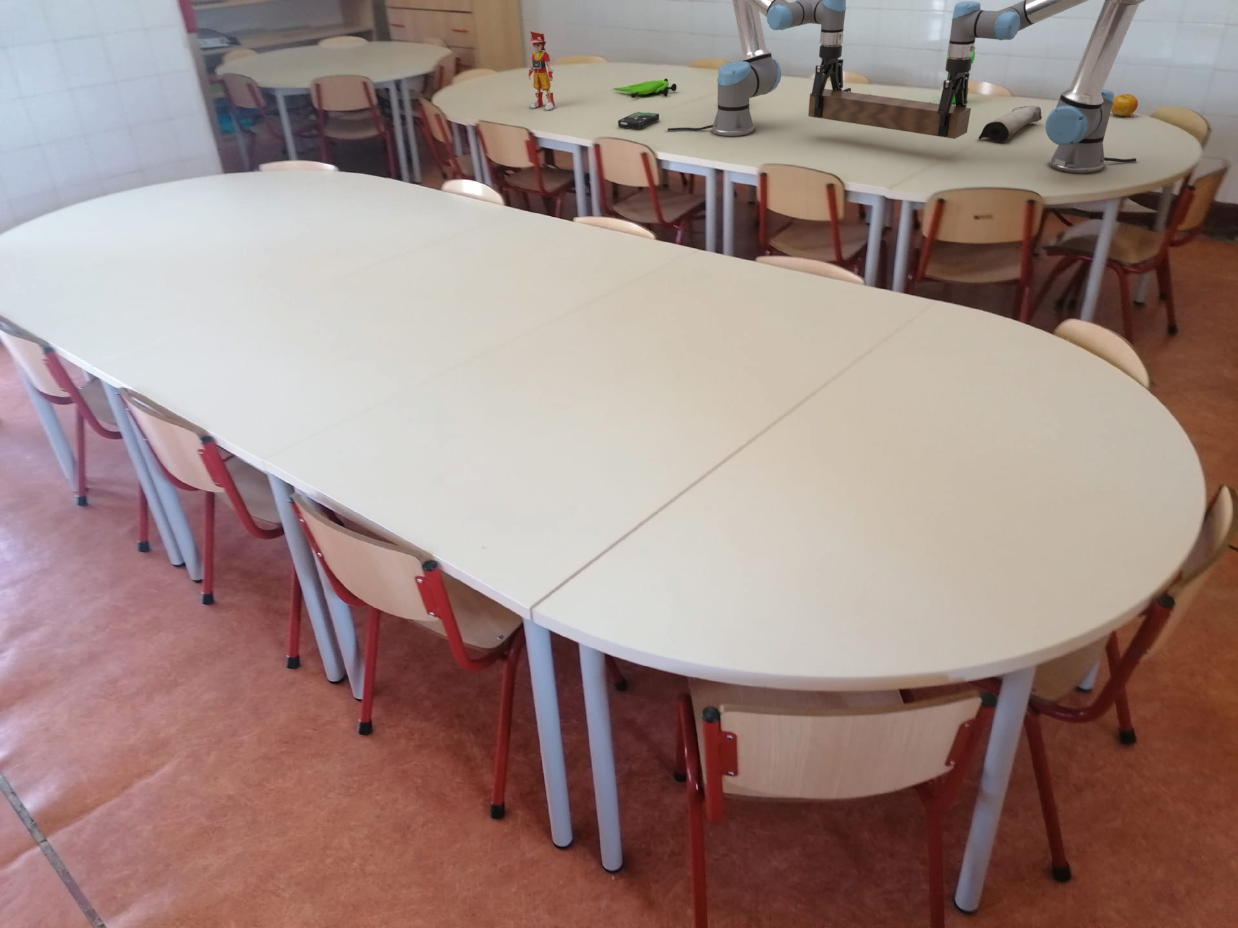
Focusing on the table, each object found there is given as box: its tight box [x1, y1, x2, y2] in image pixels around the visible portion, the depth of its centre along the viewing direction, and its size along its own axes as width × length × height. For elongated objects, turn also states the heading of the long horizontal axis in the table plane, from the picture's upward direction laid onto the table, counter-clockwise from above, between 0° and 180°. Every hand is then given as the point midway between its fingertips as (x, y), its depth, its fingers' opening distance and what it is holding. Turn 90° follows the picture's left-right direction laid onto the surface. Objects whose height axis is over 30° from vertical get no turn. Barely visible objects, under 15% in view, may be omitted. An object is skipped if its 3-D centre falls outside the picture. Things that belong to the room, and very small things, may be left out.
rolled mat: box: [977, 105, 1043, 144], centre depth 315 cm, size 30×9×10 cm
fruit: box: [1111, 93, 1139, 117], centre depth 325 cm, size 8×9×8 cm
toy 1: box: [527, 31, 556, 111], centre depth 374 cm, size 12×9×30 cm
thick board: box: [808, 88, 972, 140], centre depth 303 cm, size 55×9×8 cm, turn 47°
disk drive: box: [617, 111, 660, 130], centre depth 351 cm, size 10×3×15 cm
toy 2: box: [612, 78, 677, 99], centre depth 396 cm, size 28×5×30 cm
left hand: (825, 113), depth 318 cm, fingers closed on thick board, 9 cm apart
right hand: (948, 132), depth 291 cm, fingers closed on thick board, 9 cm apart
